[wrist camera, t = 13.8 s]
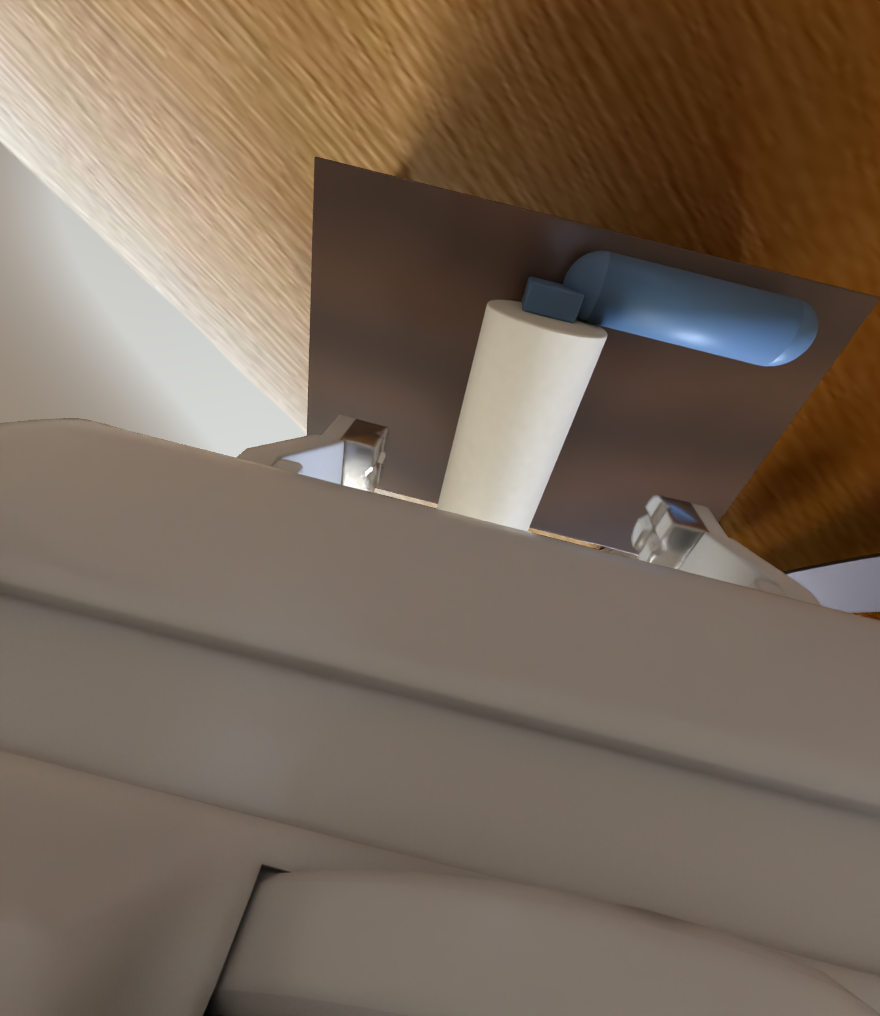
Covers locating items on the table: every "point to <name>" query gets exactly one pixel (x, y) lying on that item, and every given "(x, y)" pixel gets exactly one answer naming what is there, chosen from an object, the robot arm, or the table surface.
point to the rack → (503, 276)
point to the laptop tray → (843, 583)
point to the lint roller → (589, 365)
